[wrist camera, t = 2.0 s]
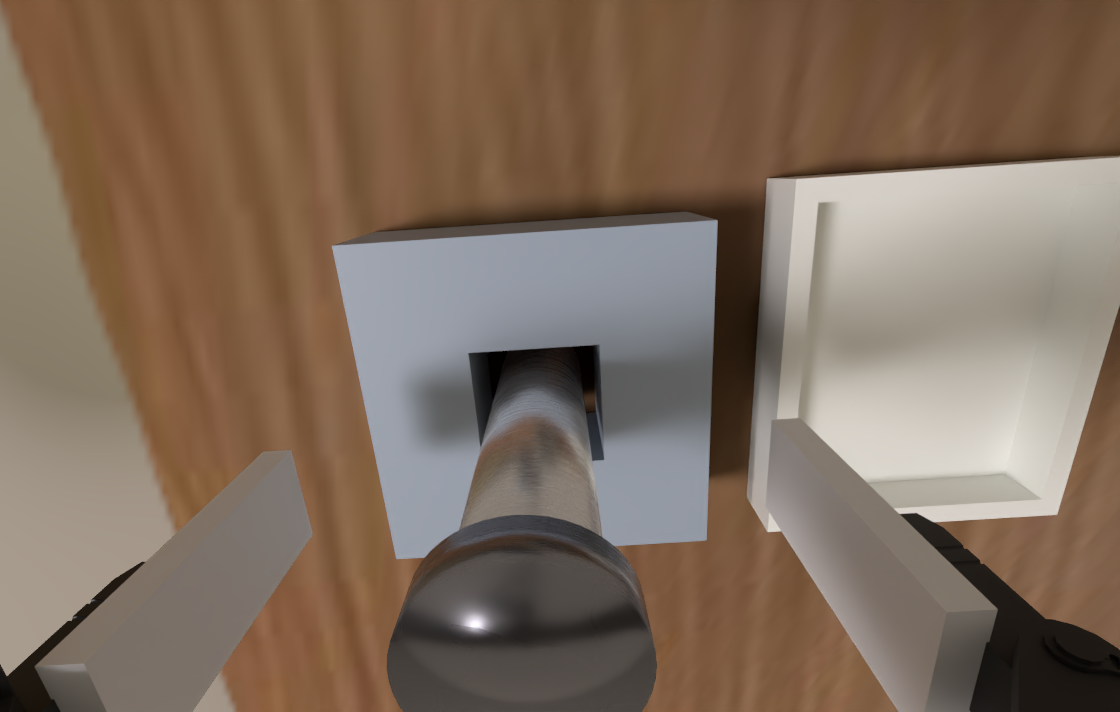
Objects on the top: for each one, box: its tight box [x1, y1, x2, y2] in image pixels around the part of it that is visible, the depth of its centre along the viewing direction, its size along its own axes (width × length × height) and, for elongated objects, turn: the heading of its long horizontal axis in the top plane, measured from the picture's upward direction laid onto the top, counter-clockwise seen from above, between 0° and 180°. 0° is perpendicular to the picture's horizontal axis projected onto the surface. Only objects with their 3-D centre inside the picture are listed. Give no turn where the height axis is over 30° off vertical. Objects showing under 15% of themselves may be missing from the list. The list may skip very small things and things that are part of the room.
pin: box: [387, 346, 657, 712], centre depth 15 cm, size 4×4×14 cm
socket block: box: [332, 211, 718, 559], centre depth 20 cm, size 12×12×4 cm
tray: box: [747, 156, 1120, 532], centre depth 21 cm, size 14×12×2 cm
